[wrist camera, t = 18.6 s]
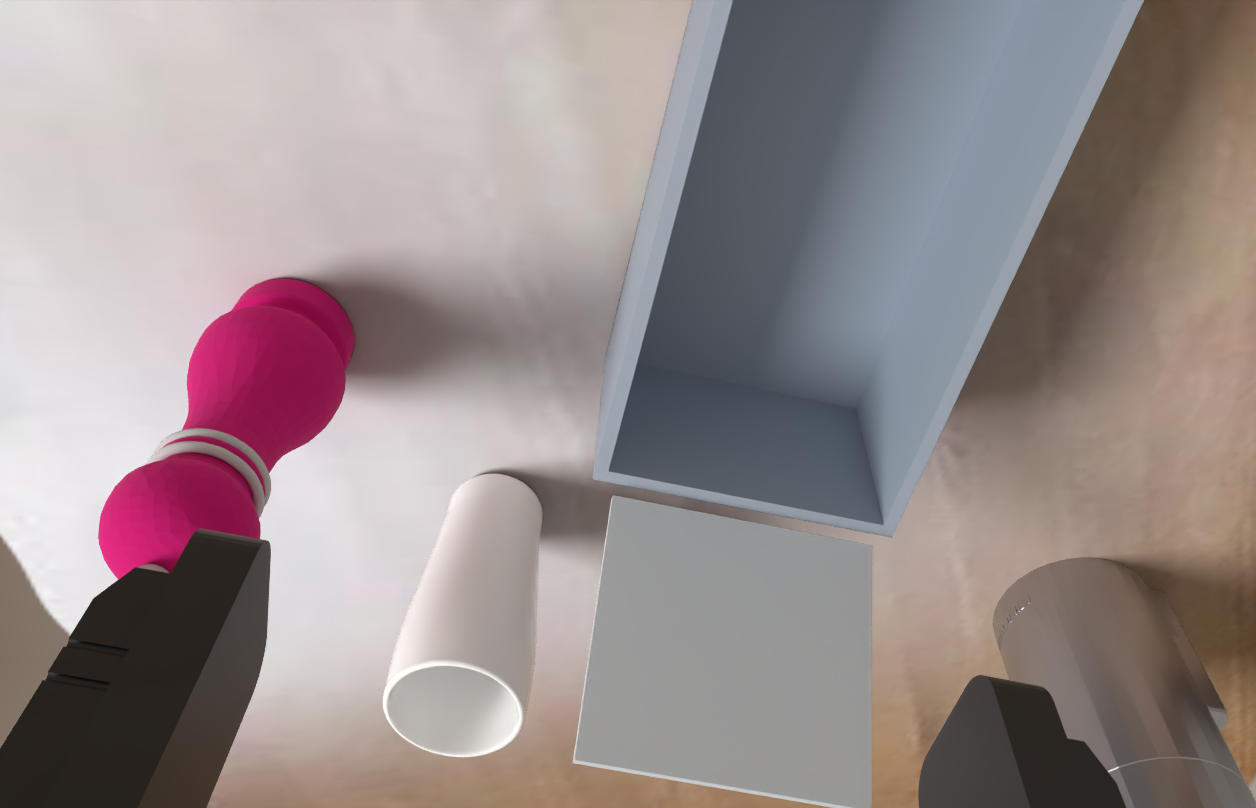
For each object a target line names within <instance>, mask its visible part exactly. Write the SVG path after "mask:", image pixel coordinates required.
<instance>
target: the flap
mask: <svg viewBox="0 0 1256 808" xmlns="http://www.w3.org/2000/svg"><path fill="white" fill-rule="evenodd" d="M573 763H576V764H582V765H588V766H594V767H599V768H605V769H611V770H617V771H623V772H629V773H634V774H640V775H646V776H652V777H658V778H664V779H669V780H675V781H681V782H687V783H693V784H699V785H704V786H710V787H716V788H722V789H728V790H734V791H739V792H745V793H751V794H757V795H763V796H769V797H775V798H780V799H786V800H792V801H798V802H804V803H810V804H815V805H821V806H827V807H833V808H871V764H872V545H867V544H862V543H857V542H852V541H847V540H842V539H836V538H831V537H826V536H821V535H816V534H811V533H806V532H800V531H795V530H790V529H785V528H780V527H775V526H769V525H764V524H759V523H754V522H749V521H744V520H739V519H733V518H728V517H723V516H718V515H713V514H708V513H703V512H697V511H692V510H687V509H682V508H677V507H672V506H667V505H661V504H656V503H651V502H646V501H641V500H636V499H631V498H625V497H620V496H615V495H613V496H612V499H611V504H610V511H609V518H608V525H607V532H606V539H605V545H604V552H603V559H602V566H601V573H600V580H599V587H598V594H597V600H596V607H595V614H594V621H593V628H592V635H591V642H590V649H589V655H588V662H587V669H586V676H585V683H584V690H583V697H582V704H581V710H580V717H579V724H578V731H577V738H576V745H575V752H574V759H573Z"/></svg>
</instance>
